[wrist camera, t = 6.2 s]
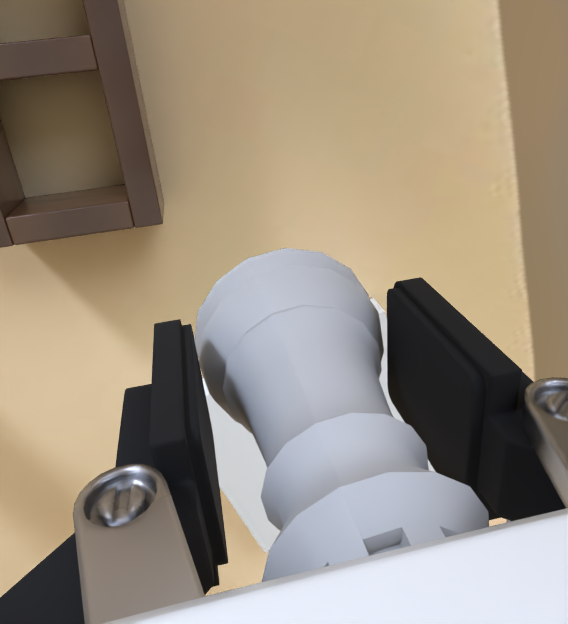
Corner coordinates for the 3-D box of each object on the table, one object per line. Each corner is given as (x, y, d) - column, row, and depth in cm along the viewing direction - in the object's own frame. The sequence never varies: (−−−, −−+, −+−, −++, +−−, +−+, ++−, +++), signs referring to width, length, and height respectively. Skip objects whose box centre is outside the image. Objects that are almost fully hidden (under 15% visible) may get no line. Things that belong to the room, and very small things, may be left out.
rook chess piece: (158, 292, 12) (148, 613, 5) (331, 208, 12) (548, 425, 5) (240, 423, 15) (308, 775, 8) (387, 353, 14) (594, 643, 7)
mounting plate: (440, 474, 38) (453, 494, 36) (275, 551, 38) (279, 574, 36) (358, 260, 29) (370, 273, 28) (147, 360, 30) (145, 379, 28)
